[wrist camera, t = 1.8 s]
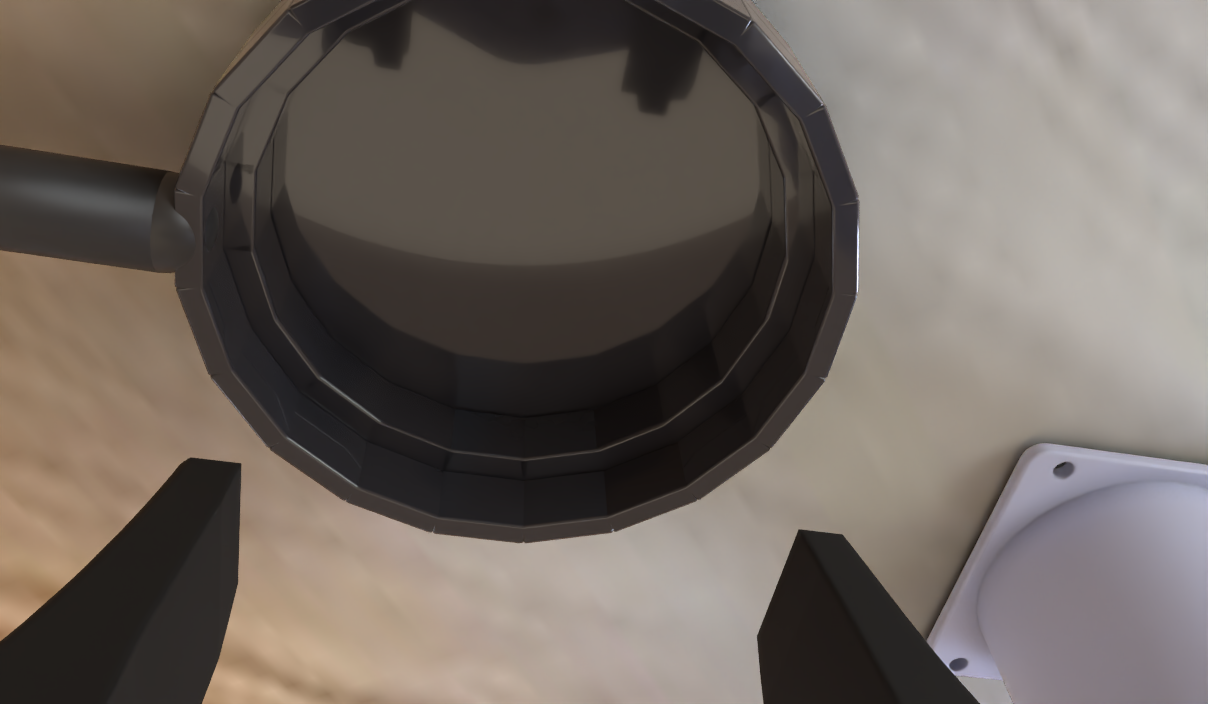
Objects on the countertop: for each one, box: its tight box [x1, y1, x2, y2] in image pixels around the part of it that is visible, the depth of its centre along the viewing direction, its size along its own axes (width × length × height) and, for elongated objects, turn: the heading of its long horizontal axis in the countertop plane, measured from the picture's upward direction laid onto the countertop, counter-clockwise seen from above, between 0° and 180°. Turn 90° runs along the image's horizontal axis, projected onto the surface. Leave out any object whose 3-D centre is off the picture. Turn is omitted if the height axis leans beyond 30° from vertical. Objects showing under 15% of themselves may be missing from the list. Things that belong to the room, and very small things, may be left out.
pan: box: [174, 0, 859, 543], centre depth 21 cm, size 12×12×4 cm
